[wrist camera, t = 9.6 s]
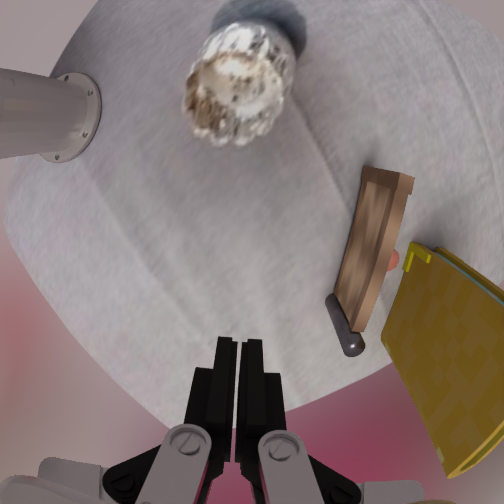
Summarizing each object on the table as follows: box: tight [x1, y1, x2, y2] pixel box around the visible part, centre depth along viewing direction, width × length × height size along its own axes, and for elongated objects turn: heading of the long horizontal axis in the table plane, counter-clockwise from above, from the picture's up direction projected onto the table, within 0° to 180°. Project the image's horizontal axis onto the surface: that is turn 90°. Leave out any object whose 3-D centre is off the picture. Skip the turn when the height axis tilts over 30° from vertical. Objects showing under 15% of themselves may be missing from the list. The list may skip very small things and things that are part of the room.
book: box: [381, 242, 504, 479], centre depth 24 cm, size 17×7×25 cm, turn 173°
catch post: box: [387, 249, 399, 271], centre depth 29 cm, size 2×2×7 cm
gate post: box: [325, 293, 365, 357], centre depth 31 cm, size 2×2×10 cm
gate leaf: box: [334, 166, 415, 332], centre depth 28 cm, size 16×2×9 cm, turn 171°
